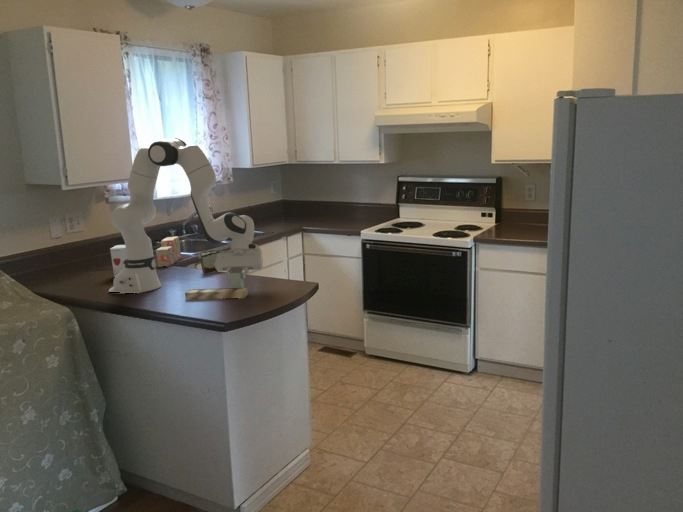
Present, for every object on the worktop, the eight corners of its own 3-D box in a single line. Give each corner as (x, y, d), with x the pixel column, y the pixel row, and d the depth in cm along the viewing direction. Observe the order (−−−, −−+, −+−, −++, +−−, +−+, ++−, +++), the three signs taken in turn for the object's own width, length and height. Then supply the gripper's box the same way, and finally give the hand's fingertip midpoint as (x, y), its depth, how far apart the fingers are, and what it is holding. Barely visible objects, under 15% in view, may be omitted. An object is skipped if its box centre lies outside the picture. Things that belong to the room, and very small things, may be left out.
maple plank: (185, 299, 248) (184, 292, 247) (190, 296, 253) (189, 289, 252) (244, 298, 244) (243, 290, 243) (247, 294, 249) (247, 287, 248)
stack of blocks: (169, 266, 313) (166, 243, 310) (157, 267, 313) (154, 244, 310) (181, 257, 334) (179, 235, 331) (170, 258, 334) (167, 236, 331)
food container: (215, 268, 302) (212, 248, 300) (223, 269, 298) (220, 249, 296) (195, 273, 292) (192, 253, 290) (202, 275, 289) (200, 254, 286)
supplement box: (113, 278, 294) (109, 248, 291) (119, 274, 303) (115, 245, 300) (132, 277, 294) (128, 247, 291) (137, 272, 303) (133, 243, 300)
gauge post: (232, 290, 251) (230, 271, 249) (235, 287, 255) (232, 269, 253) (241, 290, 250) (239, 271, 249) (244, 287, 254) (242, 269, 253)
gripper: (215, 247, 257) (210, 275, 250) (261, 245, 254) (257, 273, 247) (220, 255, 262) (215, 282, 255) (265, 253, 259) (261, 281, 252)
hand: (236, 278), depth 251 cm, fingers closed on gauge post, 4 cm apart
